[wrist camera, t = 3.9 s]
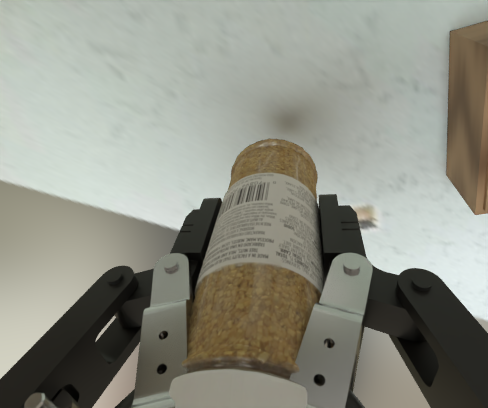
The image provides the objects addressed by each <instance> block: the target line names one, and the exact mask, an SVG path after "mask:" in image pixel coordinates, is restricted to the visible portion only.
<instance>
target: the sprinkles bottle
mask: <svg viewBox="0 0 488 408" xmlns="http://www.w3.org/2000/svg"><path fill="white" fill-rule="evenodd" d="M316 183H317V171H316V167H315V164H314V162H313V160H312V158H311V157H310V155H309V154H308V153H307V152H306V151H305V150H304V149H303V148H302V147H299V146H298V145H296V144H294V143H291V142H288V141H285V140H278V139H267V140H262V141H259V142H256V143H255V144H252V145H250V146H248V147H247V148H245V149H244V150H243V151H242V152H241V153H240V154H239V155H238V157H237V158H236V161H235V163H234V165H233V167H232V171H231V182H230V185H229V188H228V191H227V192H226V194H225V196H224V199H223V202H222V204H221V207H220V211H219V214H218V217H217V220H216V223H215V226H214V229H213V232H212V236H211V239H210V242H209V245H208V249H207V252H206V255H205V258H204V261H203V265H202V268H201V271H200V274H199V277H198V281H197V284H196V288H195V293H194V294H195V299H194V302H193V305H192V310H191V318H190V329H189V341H188V356H187V359H185V360H184V361H183V362H182V366H183V367H186V368H187V370H188V372H187V374H184V375H181V376H178V377H176V378H174V379H173V380H172V383H171V386H170V390H169V396H170V397H171V398H172V399H173V400H174V401H175V408H306V406H307V391H306V389H305V387H303V386H301V385H299V384H297V383H295V382H293V381H290V380H289V379H290V376H291V373H297V372H299V367H298V365H297V364H296V363H295V361H296V358H297V355H298V352H299V349H300V346H301V343H302V340H303V337H304V334H305V331H306V328H307V325H308V322H309V319H310V316H311V313H312V310H313V307H314V305H315V303H316V302H317V303H319V301H320V298H321V295H322V292H323V289H324V285H325V275H324V265H323V254H322V242H321V229H320V215H319V207H318V204H317V195H316ZM317 386H321V385H319V384H317Z"/></svg>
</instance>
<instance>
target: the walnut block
mask: <svg viewBox="0 0 488 408" xmlns="http://www.w3.org/2000/svg"><path fill="white" fill-rule="evenodd" d="M446 175H447V177H448V178H449V179H450V181H451V182H452V184H453V185H454V186H455V188H456V189H457V191H458V192H459V193H460V195H461V196H462V198H463V199H464V200H465V202H466V203H467V205H468V206H469V207H470V209H471V210H472V212H473V213H474V214H475V215H479V214H486V213H488V21H485V22H482V23H478V24H475V25H471V26H468V27H464V28H461V29H457V30H453V31H450V52H449V91H448V131H447V170H446Z"/></svg>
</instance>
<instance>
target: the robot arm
mask: <svg viewBox="0 0 488 408" xmlns="http://www.w3.org/2000/svg"><path fill="white" fill-rule="evenodd" d="M221 204H222V200H221V198H207V199H204V200H203V202H202V204H201V207H200V209H198V210H193V211H192V212H191V213H190V214H189V215H187V216H186V218H185V221H184V223H183V226H182V227H181V230H180V233H179V234H178V237H177V239H176V241H175V243H174V246H173V248H172V250H171V252H170V254H169V255H166V256H164V257H162V258H161V259H160V260H158V262H157V263H156V264H155V267H154V269H151V270H147V271H143V272H140V273H135V274H134V272H133V270H132V269H131V268H130V267H128V266H118V267H114V268H112V269H110V270H108V271H107V272H106V273H105V274H103V275H102V276H101V277H100V278H99V279H98V280H97V281H96V282H95V283H94V284H93V285H92V286H91V287H90V289H88V291H87V292H85V294H84V295H83V296H82V297H81V298H80V299H79V300H78V301H77V302H76V303H75V304H74V305H73V306H72V307H71V308H70V309H69V310H68V311H67V312H66V313H65V314H64V315H63V316H62V317H61V318H60V319H59V320H58V321H57V322H56V323H55V324H54V325H53V326H52V327H51V328H50V329H49V330H48V331H47V332H46V333H45V334H44V335H43V336H42V337H41V338H40V340H38V341H37V342H36V344H34V346H33V347H32V348H31V349H30V350H29V351H28V352H27V353H26V354H25V355H24V356H23V357H22V358H21V359H20V360H19V361H18V362H17V363H16V364H15V365H14V366H13V367H12V368H11V369H10V370H9V371H8V372H7V373H6V374H5V375H4V376H3V377H2V378H1V379H0V408H92V407H93V406H94V404H95V403H96V401H97V400H98V399H99V397H100V396H101V395H102V393H103V392H104V390H105V389H106V388H107V386H108V385H109V384H110V382H111V381H112V379H113V378H114V376H115V375H116V374H117V372H118V371H119V370H120V368H121V367H122V366H123V364H124V363H125V362H126V360H127V359H128V357H129V356H130V355H131V353H132V352H133V351H134V349H135V348H136V346H137V345H138V344H139V342H140V347H139V356H138V365H137V374H136V383H135V389H134V390H133V391H132V392H131V393H130V394H129V395H128V396H127V397H125V399H123V400H122V401H121V402H120V403H119V404H118V405H117V406H116V407H115V408H175V401H174V400H173V399H172V398H171V397H170V396H169V390H170V386H171V383H172V380H173V379H174V378H176V377H178V376H181V375H184V374H187V372H188V370H187V368H186V367H183V366H182V362H183V361H184V360H185V359H187V356H188V341H189V329H190V318H191V310H192V305H193V302H194V299H195V294H194V293H195V288H196V284H197V281H198V277H199V274H200V271H201V268H202V265H203V261H204V258H205V255H206V252H207V249H208V245H209V242H210V239H211V236H212V232H213V229H214V226H215V223H216V220H217V217H218V214H219V211H220V207H221ZM319 215H320V229H321V242H322V254H323V265H324V275H325V285H324V289H323V292H322V295H321V298H320V301H319V303H317V302H316V303H315V305H314V307H313V310H312V313H311V316H310V319H309V322H308V325H307V328H306V331H305V334H304V337H303V340H302V343H301V346H300V349H299V352H298V355H297V358H296V361H295V363H296V364H297V365H298V367H299V372H297V373H291V376H290V379H289V380H290V381H293V382H295V383H297V384H299V385H301V386H303V387H305V389H306V391H307V406H306V408H365V407H364V406H363V405H362V403H361V402H360V401H359V400H358V398H357V397H356V396H355V395H354V393H353V389H354V383H355V378H356V372H357V366H358V360H359V354H360V349H361V344H362V338H363V333H364V328H365V327H368V328H371V329H374V330H377V331H380V332H383V333H386V334H389V336H390V338H391V340H392V341H393V343H394V345H395V347H396V348H397V350H398V352H399V353H400V355H401V357H402V359H403V360H404V362H405V364H406V366H407V367H408V369H409V371H410V372H411V374H412V376H413V378H414V379H415V381H416V383H417V384H418V386H419V388H420V390H421V391H422V393H423V395H424V397H425V398H426V400H427V402H428V404H429V405H430V407H431V408H488V333H487V332H486V331H485V330H484V328H483V327H482V326H481V325H480V324H479V323H478V321H477V320H476V319H475V318H474V317H473V316H472V315H471V313H470V312H469V311H468V310H467V309H466V308H465V306H464V305H463V304H462V303H461V302H460V301H459V299H458V298H457V297H456V296H455V295H454V294H453V293H452V291H451V290H450V289H449V288H448V287H447V286H446V284H445V283H444V282H443V281H442V280H441V279H440V278H439V277H438V276H437V275H435V274H434V273H432V272H430V271H427V270H424V269H418V268H412V269H407V270H405V271H403V272H402V273H400V275H395V274H391V273H387V272H384V271H381V270H379V269H377V268H376V267H374V266H373V265H372V264H371V263H370V261H369V260H368V259H367V257H366V254H365V249H364V245H363V240H362V236H361V232H360V227H359V223H358V218H357V214H356V212H355V211H354V210H353V209H352V208H351V207H350V206H349V205H348V206H338V201H337V195H336V194H329V195H319ZM114 315H115V316H116V319H115V320H114V321H113V322H112V323H111V324H110V326H109V327H108V328H107V330H105V332H104V333H103V334H102V335H101V337H100V338H99V339H98V340H97V341H96V342H95V340H96V338H97V336H98V334H99V333H100V332H101V330H102V329H103V328H104V327H105V326H106V324H107V323H108V322H109V321H110V320H111V319H112V317H113V316H114ZM317 384H319V385H321V386H317Z"/></svg>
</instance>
